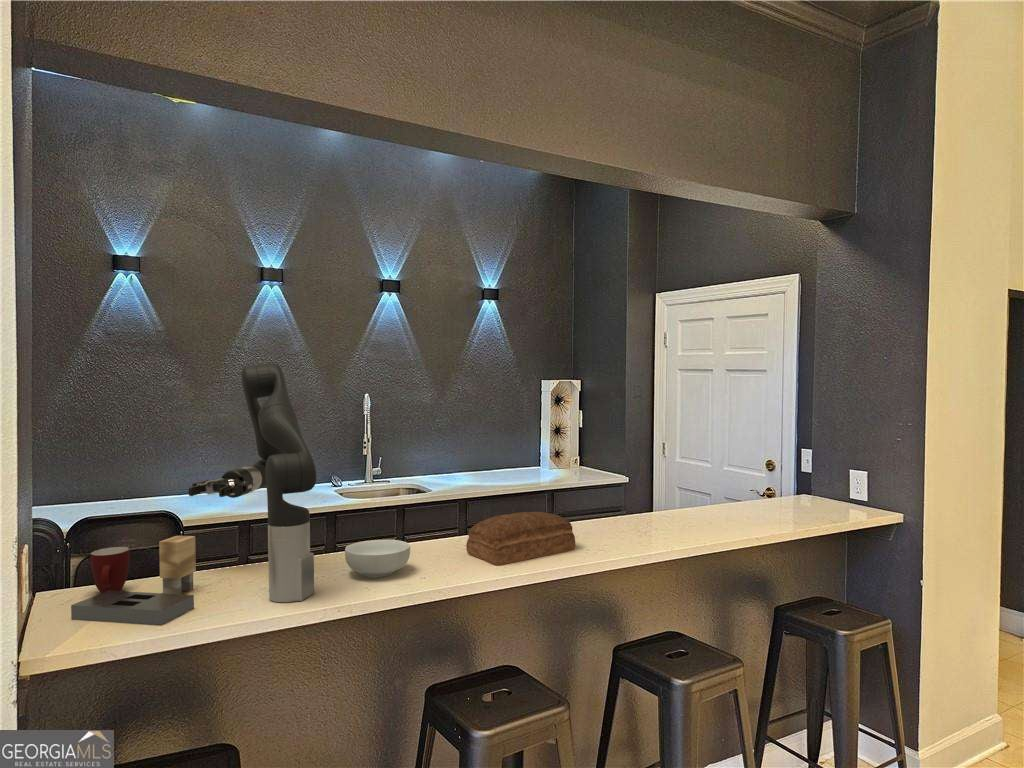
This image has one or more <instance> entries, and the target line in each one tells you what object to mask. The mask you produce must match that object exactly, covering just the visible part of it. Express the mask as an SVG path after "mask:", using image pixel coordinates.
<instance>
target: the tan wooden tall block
mask: <svg viewBox="0 0 1024 768" xmlns="http://www.w3.org/2000/svg"><path fill="white" fill-rule="evenodd" d="M158 543H159V545H158V547H159V549H158V551H159V553H158V554H159V579H162V593H163V594H181V595H182V592H185V591H191V590H193V591H194V573H195V572H196V571H197V570H196V567H197V566H196V565H197V563H196V535H195V536H193V535H175V536H172V537H168V538H166V539H163V540H160V541H159V542H158ZM191 592H192V591H191Z"/></svg>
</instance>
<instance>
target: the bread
mask: <svg viewBox="0 0 1024 768" xmlns="http://www.w3.org/2000/svg"><path fill="white" fill-rule="evenodd" d="M467 534H468V539H467V540H466V544H465V545H466V546H465V547H466V548H465V549H466V552H467V555H469V556H472V557H475V558H477V559H480V560H482V561H485V562H487V563H489V564H491V565H494V566H502V565H507V564H511V563H517V562H522V561H526V560H530V559H534V558H535V559H536V558H538V557H539V558H540V557H545V556H551V555H555V554H560V553H564V552H570V551H572V550H575V547H576V537H575V534H574V532H573V525H572V522H570V521H569V520H568V519H566V518H564V517H562V516H560V515H557V514H554V513H550V512H543V511H522V512H521V511H520V512H514V513H508V514H501V515H500V514H499V515H495V516H492V517H490V518H487V519H483V520H482V521H479V522H478V523H476V524H474V525H473V526H472V527H471V528H470V529H469V530H468V533H467Z"/></svg>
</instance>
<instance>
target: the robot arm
mask: <svg viewBox="0 0 1024 768" xmlns="http://www.w3.org/2000/svg"><path fill="white" fill-rule="evenodd" d="M240 377H241V386H242V390H243V393H244V394H243V395H244V399H245V403H246V407H247V410H248V413H249V417H250V420H251V424H252V427H253V430H254V435H255V444H256V450H257V455H258V457H260V459H259V460H258V461H256V462H255V463H254V464H253V465H250V466H242V467H238V468H234V469H231V470H228V471H226V472H224V474H223V475H222V476H221V478H217V479H214V480H208V479H206V480H201V481H197V482H193V483H192V484H191V486H190V487H189V488H188V496H189V497H194V496H197V495H198V496H199V495H202V494H207V495H217V494H218V497H219V498H225V497H228V498H231V499H232V498H233V499H235V498H236V499H237V498H239V497H241V496H245V495H248V494H250V493H253V492H255V491H258V490H260V489H262V488H264V487H266V497H267V498H266V501H267V504H266V505H267V548H268V549H267V554H268V555H267V556H268V558H267V559H268V560H267V561H268V599H269V600H270V601H271V602H274V603H291V602H302V601H304V600H305V599H307V598H309V597H310V596H311V595H313V594H315V555H314V552H311V533H310V532H311V529H310V527H311V525H310V520H311V519H310V517H311V516H310V515H311V514H310V510H309V509H308V508H307V507H304V506H302V505H301V506H300V505H296V504H292V503H289V502H288V501H286V500H284V497H283V495H287V494H289V495H290V494H297V493H306V492H309V491H312V489H314V487H315V485H316V483H317V469H316V465H315V462H314V459H313V457H312V454H311V452H310V449H309V448H308V446H307V444H306V442H305V440H304V438H303V435H302V431H301V429H300V424H299V421H298V418H297V415H296V411H295V410H294V407H293V404H292V402H291V399H290V397H289V393H288V392H289V391H288V388H287V383H286V380H285V375H284V371H283V369H282V368H281V366H280V365H279V364H278V363H275V362H269V363H268V362H267V363H262V364H261V363H260V364H253V365H247V366H244V367H243V368H242V370H241V376H240ZM266 397H268V398H267V399H266V400H265V402H264V403H263V404H262V405H260V403H259V401H258V399H259V398H266ZM211 488H212V491H211Z"/></svg>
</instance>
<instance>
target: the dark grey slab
mask: <svg viewBox="0 0 1024 768" xmlns="http://www.w3.org/2000/svg"><path fill="white" fill-rule="evenodd" d="M193 608H194V609H195V596H194V595H193V594H182V593H181V594H163V592H162V593H160V592H142V591H128V590H127V591H125V590H121V591H110V590H108V591H106V592H103V593H99V594H96V595H94V596H91V597H89V598H86V599H83V600H81V601H79V602H76V603H74V604H70V610H71V611H70V614H71V615H70V616H71V618H72V619H71V618H70V619H71V620H75V619H80V621H94V622H107V623H123V624H137V625H150V626H151V625H153V626H163V625H165V624H167V623H169V622H171V621H172V620H173V621H174V620H175V619H177V618H178V616H179V617H180V615H181V616H183V615H185V614H186V613H185V612H187V611H189V610H191V609H192V610H194V609H193ZM192 610H191V611H192ZM189 612H190V611H189ZM184 613H185V614H184ZM187 613H188V612H187ZM182 614H183V615H182ZM176 617H177V618H176ZM174 618H175V619H174ZM170 620H171V621H170Z"/></svg>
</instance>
